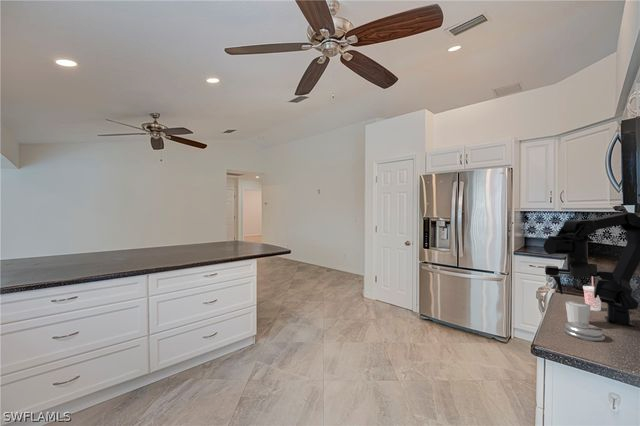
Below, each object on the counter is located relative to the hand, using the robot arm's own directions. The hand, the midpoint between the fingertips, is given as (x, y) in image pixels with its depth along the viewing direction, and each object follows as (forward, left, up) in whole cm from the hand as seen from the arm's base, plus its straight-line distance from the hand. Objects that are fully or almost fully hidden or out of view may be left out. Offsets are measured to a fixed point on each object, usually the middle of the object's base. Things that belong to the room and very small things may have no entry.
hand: (578, 295), depth 104 cm
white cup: (0, 0, -10) cm, 10 cm away
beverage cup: (-23, +7, -10) cm, 26 cm away
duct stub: (+13, 0, -10) cm, 16 cm away
